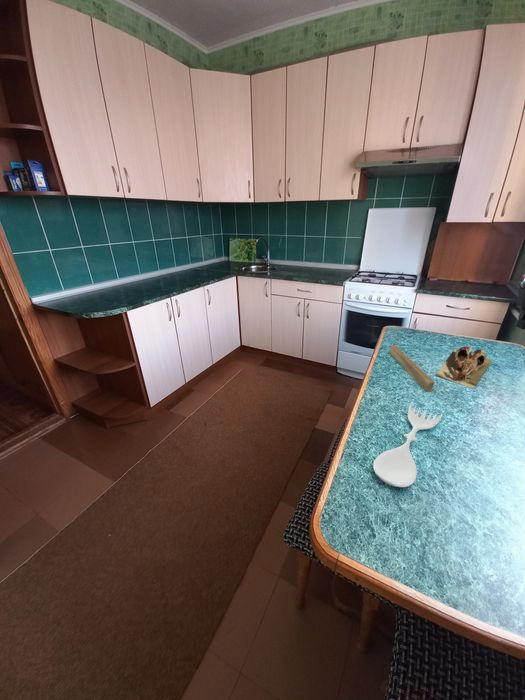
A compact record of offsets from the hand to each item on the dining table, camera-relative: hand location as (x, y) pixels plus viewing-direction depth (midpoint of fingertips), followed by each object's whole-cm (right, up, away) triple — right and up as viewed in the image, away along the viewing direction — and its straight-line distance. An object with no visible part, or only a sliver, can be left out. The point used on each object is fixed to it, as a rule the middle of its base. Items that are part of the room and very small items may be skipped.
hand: (520, 327), depth 104 cm
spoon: (-55, -34, -28) cm, 70 cm away
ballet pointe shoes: (-15, -15, +7) cm, 22 cm away
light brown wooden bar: (-37, -16, +6) cm, 41 cm away
